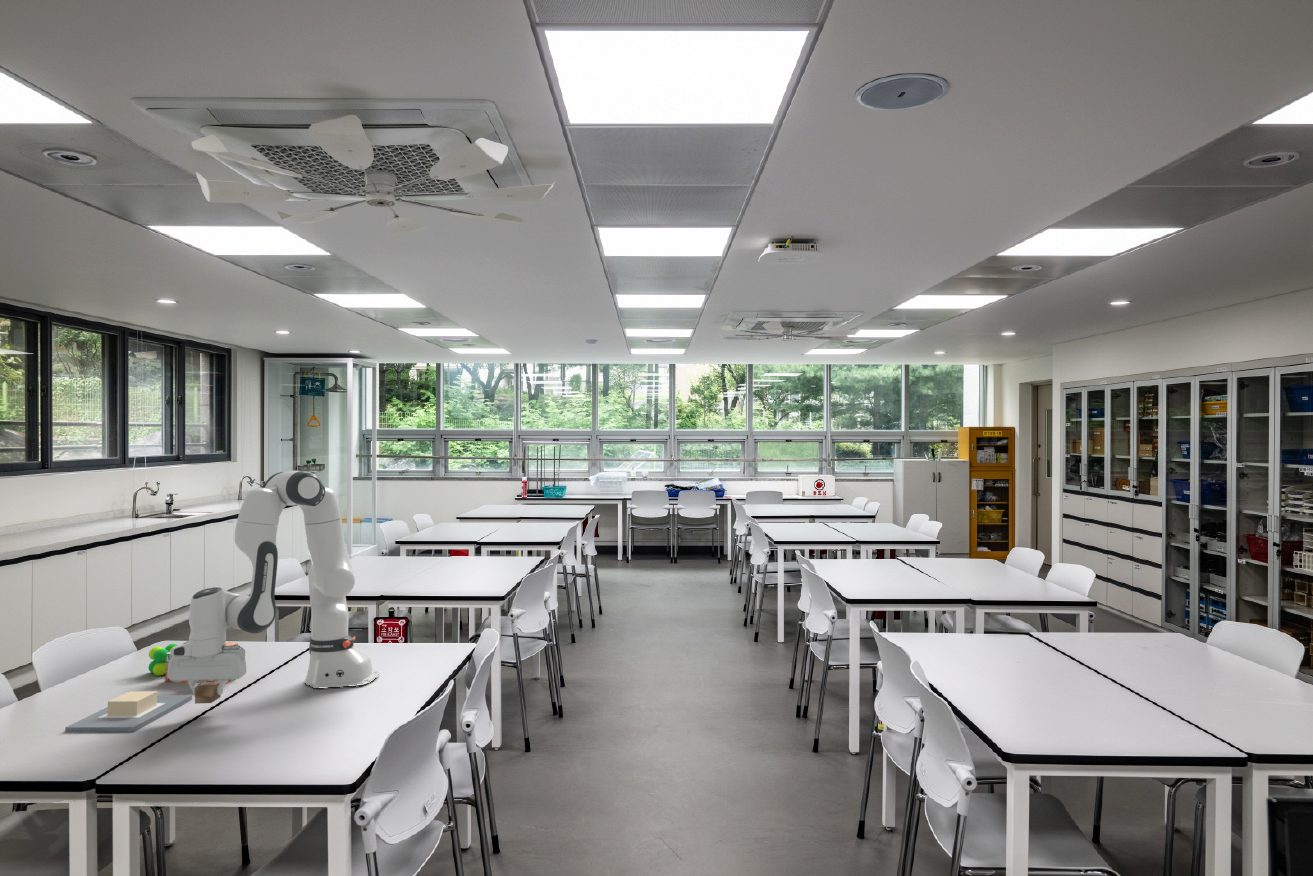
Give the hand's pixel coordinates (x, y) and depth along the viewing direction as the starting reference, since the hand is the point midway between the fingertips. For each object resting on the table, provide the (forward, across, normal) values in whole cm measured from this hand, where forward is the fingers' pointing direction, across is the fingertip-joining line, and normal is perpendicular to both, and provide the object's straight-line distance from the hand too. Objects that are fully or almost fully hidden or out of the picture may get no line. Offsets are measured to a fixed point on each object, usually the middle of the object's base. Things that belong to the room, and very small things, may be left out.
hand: (207, 694), depth 196 cm
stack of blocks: (+6, +20, -30) cm, 36 cm away
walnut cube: (+2, 0, 0) cm, 2 cm away
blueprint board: (+5, +21, 0) cm, 22 cm away
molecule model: (+6, +36, -38) cm, 53 cm away
